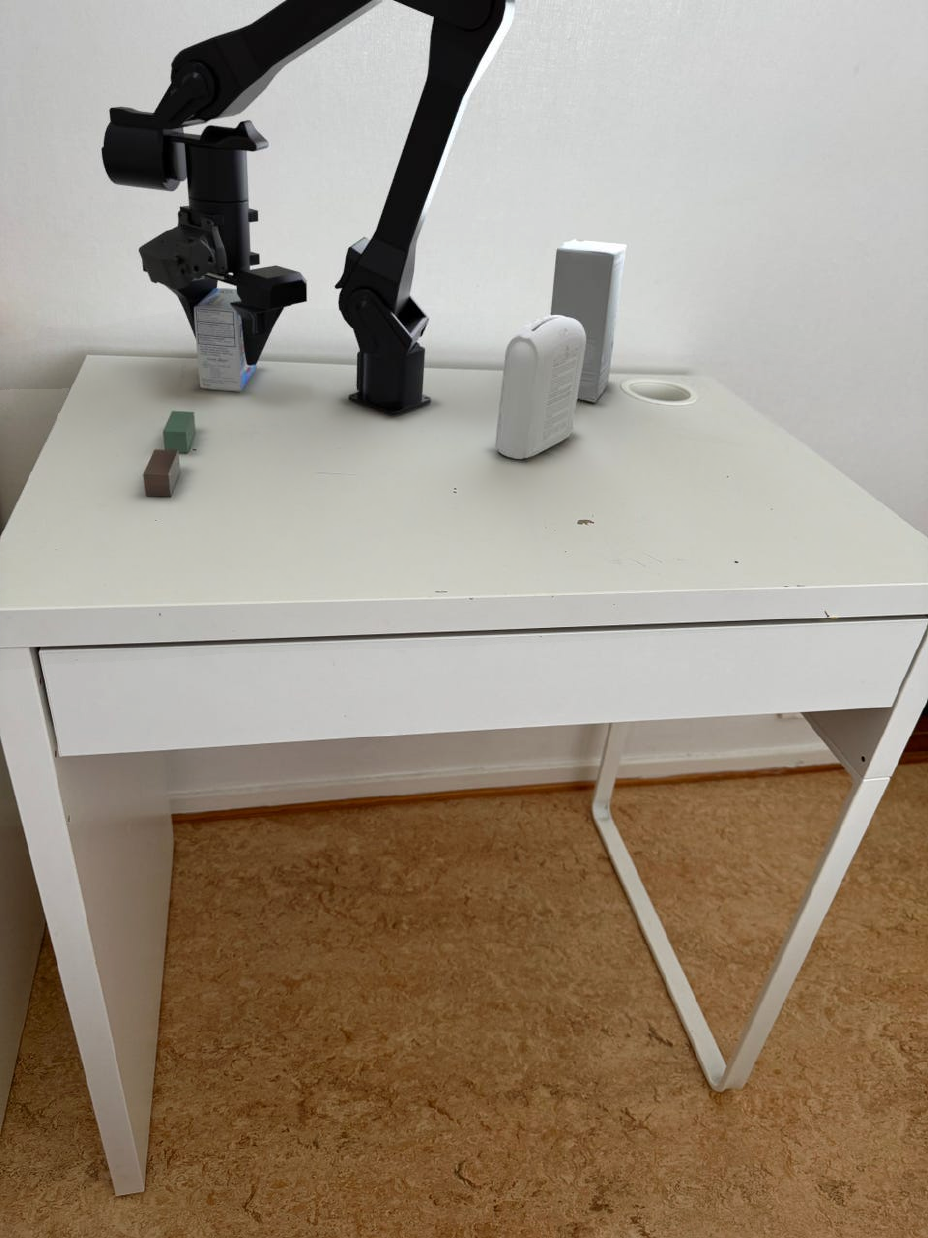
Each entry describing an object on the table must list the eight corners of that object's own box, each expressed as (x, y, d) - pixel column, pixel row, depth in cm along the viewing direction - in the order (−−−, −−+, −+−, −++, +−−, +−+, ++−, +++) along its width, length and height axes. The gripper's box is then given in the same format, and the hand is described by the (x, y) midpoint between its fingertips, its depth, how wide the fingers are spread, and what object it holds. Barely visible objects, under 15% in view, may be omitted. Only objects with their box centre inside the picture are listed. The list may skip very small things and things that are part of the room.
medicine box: (241, 393, 96) (237, 309, 91) (198, 389, 95) (192, 304, 91) (257, 369, 102) (254, 289, 97) (217, 365, 102) (212, 285, 97)
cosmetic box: (596, 404, 102) (621, 255, 93) (534, 393, 103) (554, 245, 95) (610, 383, 109) (634, 242, 100) (552, 372, 110) (571, 233, 102)
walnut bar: (170, 497, 74) (168, 474, 73) (145, 496, 74) (142, 473, 73) (180, 471, 79) (178, 449, 77) (156, 470, 78) (154, 448, 77)
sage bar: (187, 453, 82) (185, 431, 81) (164, 452, 82) (162, 430, 81) (195, 431, 86) (194, 411, 85) (173, 430, 86) (171, 410, 85)
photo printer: (541, 424, 95) (557, 303, 89) (577, 436, 93) (596, 313, 87) (487, 452, 88) (501, 322, 81) (525, 465, 86) (542, 333, 79)
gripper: (87, 186, 87) (107, 348, 96) (219, 222, 79) (229, 396, 87) (180, 179, 95) (192, 330, 104) (310, 211, 87) (311, 372, 95)
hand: (227, 355), depth 97 cm, fingers closed on medicine box, 7 cm apart
